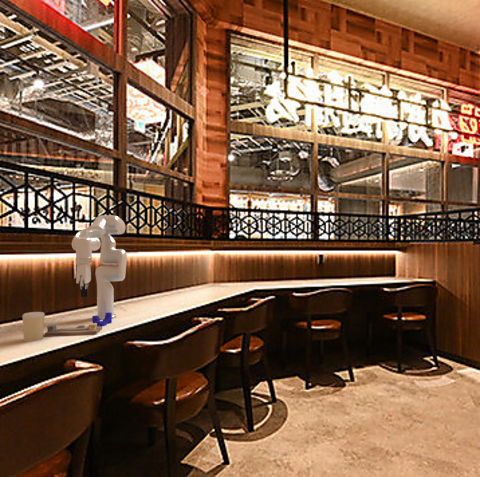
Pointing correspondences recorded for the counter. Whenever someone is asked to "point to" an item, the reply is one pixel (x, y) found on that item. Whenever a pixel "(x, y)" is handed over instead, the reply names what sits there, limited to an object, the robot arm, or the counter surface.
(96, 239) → the robot arm
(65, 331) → the board
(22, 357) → the counter surface
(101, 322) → the cable clip
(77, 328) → the strap
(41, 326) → the coffee cup
